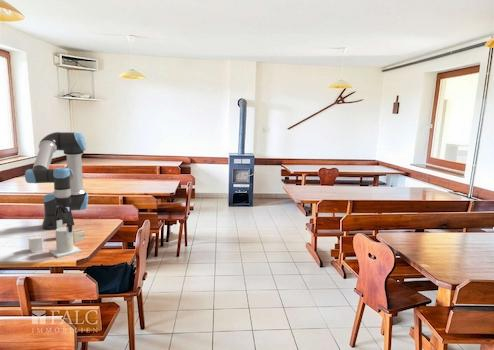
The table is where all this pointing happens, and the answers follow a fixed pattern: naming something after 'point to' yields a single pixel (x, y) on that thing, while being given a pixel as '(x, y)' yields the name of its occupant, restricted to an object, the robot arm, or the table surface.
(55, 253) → the mat
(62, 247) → the cup
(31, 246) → the offwhite box
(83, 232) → the birch block
